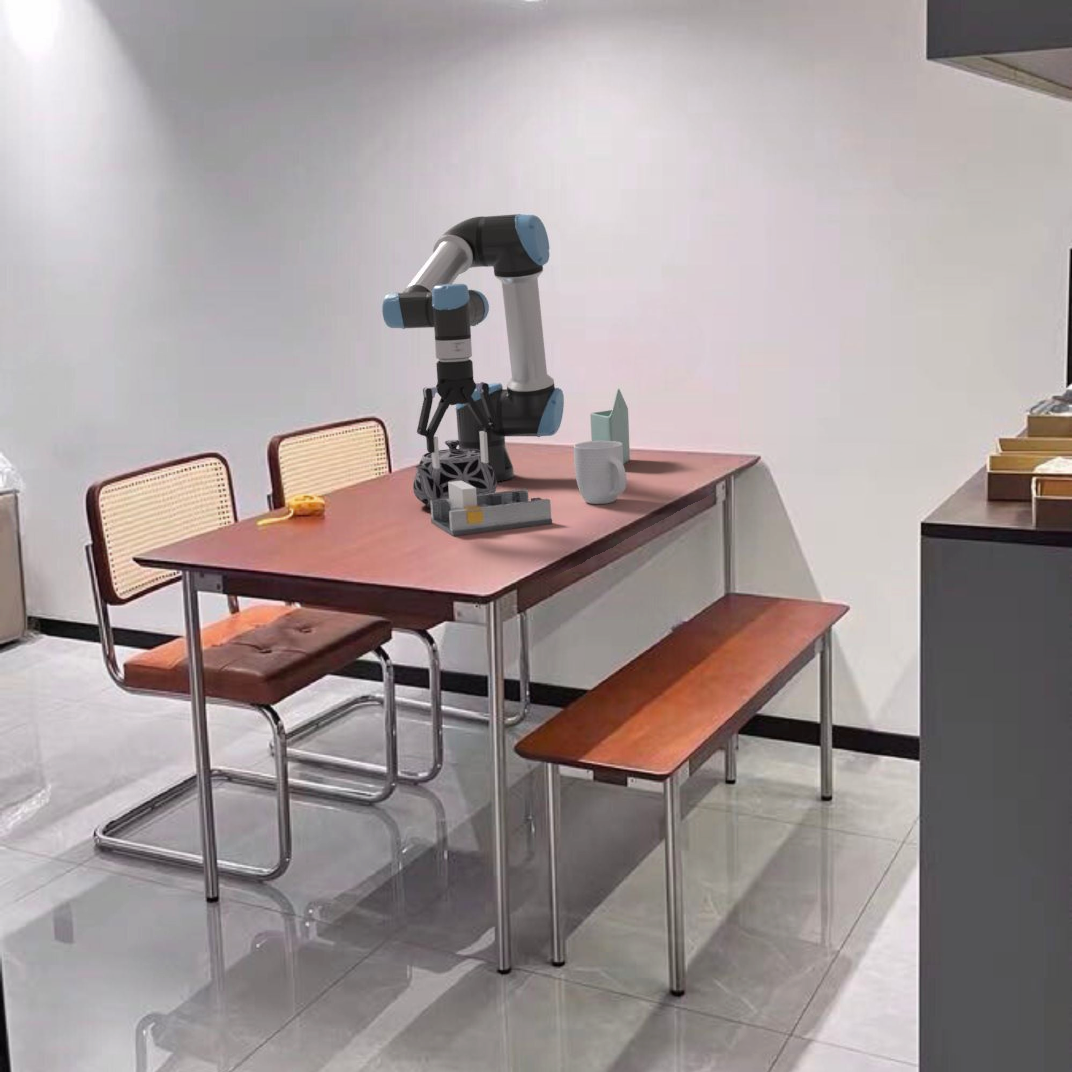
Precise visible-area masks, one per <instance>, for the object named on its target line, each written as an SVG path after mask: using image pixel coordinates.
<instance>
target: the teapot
mask: <svg viewBox="0 0 1072 1072" xmlns="http://www.w3.org/2000/svg"><path fill="white" fill-rule="evenodd" d="M459 443H460V441H459V440H458V439H447V440H446V441H444V444H445V445H446V446H447V447H448V448H447V449H439V464H440V468H439V469H436V468H434V467H433V465H432V453H429V452H426V453H424V454H422V457H421V459H420V461H419V464H417V465H415V466H414V468H416V472H415V475H414V478H413V490H412V491H413V493H414V496H415V497H416V499H417V500H419V502H420V503H422V504H424V506H426V507H427V508H430V509H431V504H430V500H436V499H444V498H449V488H448V482H453V481H463V482H465V483H467V484H469V485H471V486H473V487H475V488H476V495H478V494H487V493H495V492H496V491H497V487H498V483H497V480H496V476H495V473H494V471H493V469H492V466H491V464H490V463H489V461H488V463H483V462H481V452H480V450H476V449H459V448H457V447H459Z"/></svg>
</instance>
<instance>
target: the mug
mask: <svg viewBox="0 0 1072 1072" xmlns="http://www.w3.org/2000/svg"><path fill="white" fill-rule="evenodd" d="M573 461H574V462H573V463H574V475H575V479H576V484H577V487H578V490H579V493H580V495H581V497H582V499H583V500H584V502H586V503H587V504H590V505H604V504H611V503H614V502H615V501H616V499H617V498H618V496H620V495H621V494H623V493H624V491H626V487H627V473H626V469H625V466H624V464H623V448H622V443H620V442H616V441H592V440H590V441H589V440H588V441H584V442H579V443H575V444H574V445H573Z"/></svg>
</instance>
